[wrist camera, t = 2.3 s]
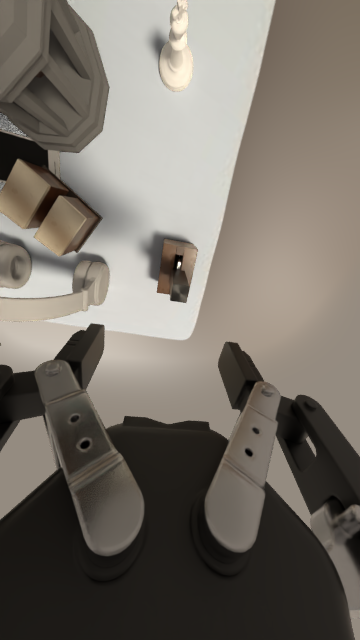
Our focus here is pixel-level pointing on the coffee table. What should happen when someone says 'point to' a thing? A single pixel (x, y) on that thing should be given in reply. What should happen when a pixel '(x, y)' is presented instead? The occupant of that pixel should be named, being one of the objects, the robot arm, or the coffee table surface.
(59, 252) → the tan and brown block
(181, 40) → the chess piece
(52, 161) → the smartphone
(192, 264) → the knife block
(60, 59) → the lantern
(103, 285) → the headphones
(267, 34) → the coffee table surface
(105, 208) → the coffee table surface
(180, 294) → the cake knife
